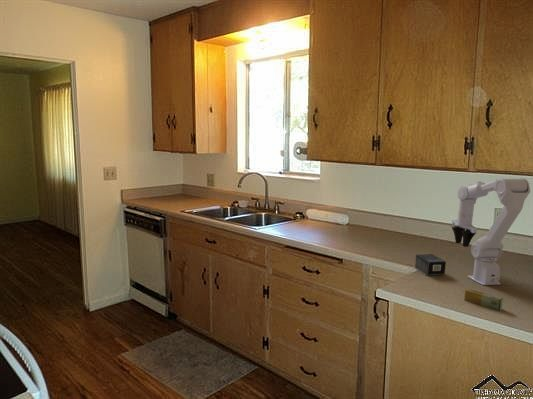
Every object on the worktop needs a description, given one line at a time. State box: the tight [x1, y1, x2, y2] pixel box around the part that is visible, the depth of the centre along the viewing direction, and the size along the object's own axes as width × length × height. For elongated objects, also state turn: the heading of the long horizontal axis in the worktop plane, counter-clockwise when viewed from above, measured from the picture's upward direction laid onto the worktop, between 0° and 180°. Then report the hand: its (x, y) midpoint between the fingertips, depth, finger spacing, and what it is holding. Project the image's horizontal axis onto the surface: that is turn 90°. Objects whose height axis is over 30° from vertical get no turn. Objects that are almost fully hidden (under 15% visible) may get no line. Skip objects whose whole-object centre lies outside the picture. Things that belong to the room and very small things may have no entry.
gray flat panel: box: [414, 266, 445, 276], centre depth 177 cm, size 9×8×1 cm
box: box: [414, 253, 447, 276], centre depth 177 cm, size 8×6×11 cm
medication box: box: [463, 288, 504, 312], centre depth 145 cm, size 12×3×4 cm, turn 43°
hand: (461, 244), depth 182 cm, fingers open, 5 cm apart
